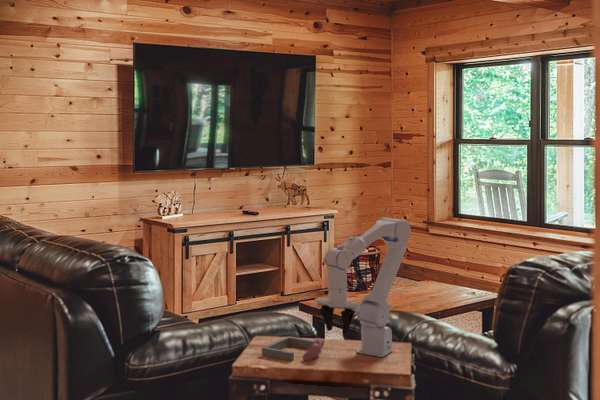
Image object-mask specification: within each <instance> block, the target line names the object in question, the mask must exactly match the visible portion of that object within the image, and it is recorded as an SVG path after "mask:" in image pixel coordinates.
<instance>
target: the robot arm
mask: <svg viewBox="0 0 600 400" xmlns="http://www.w3.org/2000/svg"><path fill="white" fill-rule="evenodd" d="M411 233H412V228H411V225H410V222H409V221H408V220H407V219H400V218H399V219H398V218H391V217H386V216H383V217H381V218H380V219H377V220H376V221H375V224H374V225H373V226H372V227H371V228H369V229H368V230H367V231H365V232H364V233H362V235H360V236H350V237H349V238H348V239H347V241H345V242H344V243H341V244H339V245H337V246H338V247H336V248H331V249H329V250H328V251H326V254H325V257H324V258H323V260H324V261H323V262H324V264H325V266H326V271H327V272H328V278H327V280H328V281H327V282H328V286H327V287H328V288H327V289H328V291H327V292H328V293H327V295H328V297H327V299H326V298H317V299H315V306H316V307H320V309H319V312H320V314H321V315H322V317H323V319H324V322H325V326H326V330H327V331H329V332H330V331H331V330H332V331H333V325H334V324H333V323H334V321H333V318H334V311H335V309H339V310H342V311H341V312H340V315H341V318H342V332H343V333H342V334H347V333H349V331H350V330H349V329H350V326H351V323H352V319H353V317H354V316H355V314H356V318H357V319H358V321H359V324H361V327H360V328H361V335H360V336H361V338H360V340H361V348H360V349H357V350H356V352H355V353H357V354H363V355H367V356H374V357H380V358H384V357H385V356H387V355H388V354H390V353H392V352H393V351H394V349H393V333H392V332H393V331H392V329H391V327H390V326H386V324H387V323H388V321H389V319H390V311H391V308H392V305H391V303H390V302H389V300H388V298H389V295H390V293H391V289H392V287H393V284H394V281H395V279H396V276H397V273H398V271H399V270H400V266H401V264H402V261H403V258H404V256H405V253H406V250H407V245H408V243H409V239H410V237H411ZM380 238H381V240H383V242H384V244H385V245H386V247H387V251H386V254H385V256H384V258H383V261H382V264H381V267H380V268H379V271H378V274H377V277H376V280H375V281H374V284H373V287H372V290H371V292H370V293H369V294H367V295H365V296H363V298H362V300H361V302H360V303H356V302H351V301H348V268H349V267H350V266H351V264H352V261H354V259H356V258H357V257H359V256H360V255H361V254H363V253H364V252H365V251H366V247H367V246H369V245H371V244H372V243H373V242H375V241H377V240H379V239H380Z"/></svg>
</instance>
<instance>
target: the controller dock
mask: <svg viewBox="0 0 600 400" xmlns="http://www.w3.org/2000/svg"><path fill="white" fill-rule="evenodd" d="M314 341H315V340H311V339H306V338H299V337H293V336H286V337H284V338H281V339H279V340H277V341H275V342H272V343H270V344H268V345H266V346H263V347H261V356H262V357H269V358H272V359H278V360H283V361H288V362H293V361H295V360H294V359H295V352H294V351H287V350H283V349H284V348H286V347H289V346H291V347H292V346H293V347H299V348H304V349H308V347H309V346H310V345H312V344H313V342H314Z"/></svg>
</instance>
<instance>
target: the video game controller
mask: <svg viewBox="0 0 600 400" xmlns="http://www.w3.org/2000/svg"><path fill="white" fill-rule="evenodd" d="M313 341H314V342H313V344H312V345H310V346H309V347H308V348H307V351H306V352H305V353H304V354H303V355H302V360H303V361H304V362H308V361H311V360H313V359H314V360H316V358H317V357H318V356H319V355H321V354H322V352H323V350H322V349H323V347H324V345H325V342H326V341H325V340H324V339H323V338H316V339H314V340H313Z"/></svg>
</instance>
